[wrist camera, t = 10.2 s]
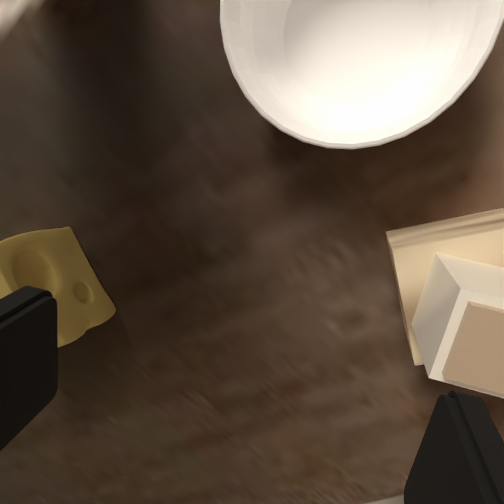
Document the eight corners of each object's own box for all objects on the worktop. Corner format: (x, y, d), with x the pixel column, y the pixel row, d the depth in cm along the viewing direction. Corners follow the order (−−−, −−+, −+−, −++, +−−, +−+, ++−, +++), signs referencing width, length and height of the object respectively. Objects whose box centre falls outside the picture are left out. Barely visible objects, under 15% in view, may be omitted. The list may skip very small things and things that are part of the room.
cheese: (120, 310, 42) (54, 361, 33) (44, 341, 46) (-35, 395, 36) (70, 218, 41) (-14, 243, 31) (-5, 257, 44) (-101, 290, 35)
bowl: (264, -100, 30) (236, -178, 22) (503, -88, 27) (561, -173, 19) (236, 130, 35) (205, 129, 27) (436, 160, 32) (461, 169, 24)
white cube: (435, 252, 28) (463, 292, 21) (521, 271, 27) (582, 320, 20) (411, 323, 30) (430, 384, 23) (492, 344, 29) (538, 413, 22)
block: (385, 230, 34) (392, 250, 29) (506, 206, 32) (539, 222, 26) (404, 329, 36) (414, 365, 30) (520, 313, 34) (554, 349, 28)
